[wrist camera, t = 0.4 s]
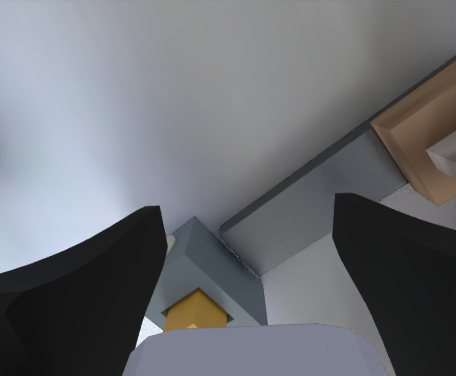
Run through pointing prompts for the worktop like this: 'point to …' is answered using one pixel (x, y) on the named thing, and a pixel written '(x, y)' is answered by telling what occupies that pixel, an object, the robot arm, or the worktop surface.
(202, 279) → the blue grey control box
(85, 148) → the worktop surface
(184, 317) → the button
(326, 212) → the rail
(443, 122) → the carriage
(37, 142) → the worktop surface
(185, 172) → the worktop surface
